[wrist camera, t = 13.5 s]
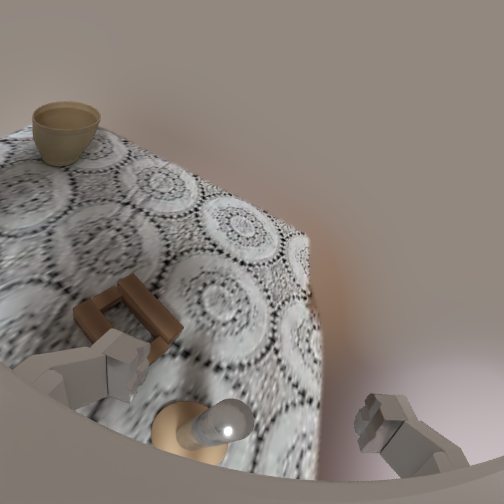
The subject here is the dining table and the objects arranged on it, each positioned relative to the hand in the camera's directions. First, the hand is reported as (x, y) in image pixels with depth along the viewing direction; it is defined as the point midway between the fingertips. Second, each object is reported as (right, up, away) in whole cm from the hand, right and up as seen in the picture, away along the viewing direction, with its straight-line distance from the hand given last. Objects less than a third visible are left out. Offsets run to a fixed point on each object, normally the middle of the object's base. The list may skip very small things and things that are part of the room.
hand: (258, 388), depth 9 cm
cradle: (-18, -6, +27) cm, 33 cm away
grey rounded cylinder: (-8, -18, +21) cm, 28 cm away
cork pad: (-8, -19, +21) cm, 29 cm away
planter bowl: (-44, +26, +43) cm, 67 cm away
